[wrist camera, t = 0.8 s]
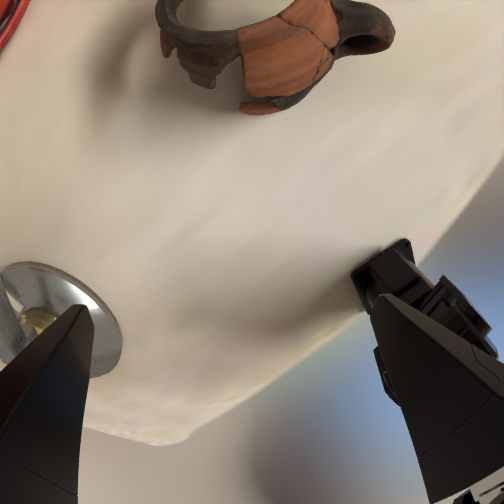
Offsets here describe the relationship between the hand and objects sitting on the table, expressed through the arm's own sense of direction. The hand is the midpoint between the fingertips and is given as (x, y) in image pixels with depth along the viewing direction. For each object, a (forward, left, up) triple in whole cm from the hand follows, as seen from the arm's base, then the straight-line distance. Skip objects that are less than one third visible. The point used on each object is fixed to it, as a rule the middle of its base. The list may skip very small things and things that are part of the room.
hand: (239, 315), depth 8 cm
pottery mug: (+6, -8, -13) cm, 16 cm away
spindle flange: (-1, +21, -12) cm, 24 cm away
